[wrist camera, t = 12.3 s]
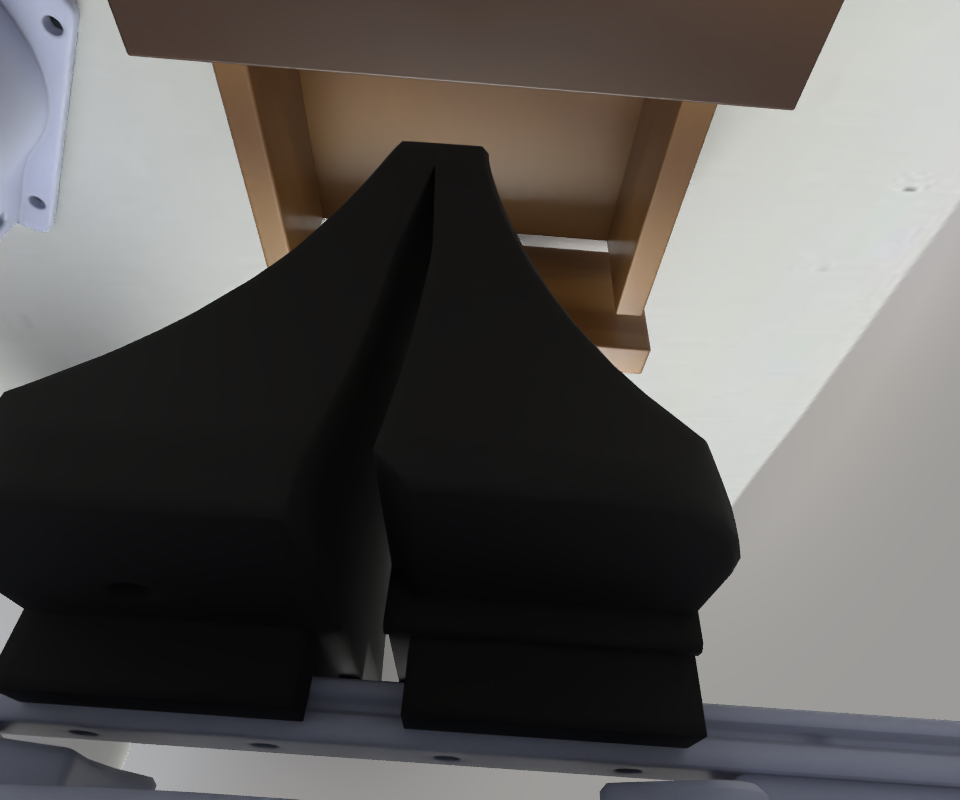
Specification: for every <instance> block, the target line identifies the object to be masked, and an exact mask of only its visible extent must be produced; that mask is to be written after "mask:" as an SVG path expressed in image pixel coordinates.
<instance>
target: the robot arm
mask: <svg viewBox="0 0 960 800" xmlns="http://www.w3.org/2000/svg"><path fill="white" fill-rule="evenodd" d="M49 16H52V17H54V18H55V19H57V20H58V21H59V22H60V24H61V25H62V28H63V30H61V29H59V28H57V27H56V26H55V25H54V24H53V23H52V21H51V20H50V17H49ZM79 18H80V13H79V8H78V5H77V3H76V1H75V0H0V241H1V240H2V239H3V238H4V237H5V235H6V234H7V233H8V232H9V231H10V230H11V228H12V227H13V226H14V225H15V224H16V223H19V224H21V225H24V226H26V227H28V228H31V229H33V230H36V231H39V232H47V231H49V230H50V229H51V228H52V227H53V225H54V223H55V217H56V208H57V200H58V192H59V183H60V175H61V167H62V159H63V150H64V142H65V134H66V125H67V117H68V109H69V101H70V92H71V84H72V76H73V67H74V59H75V51H76V43H77V34H78V26H79ZM37 197H38V198H40V199H41V200H42V201H43V202H42V201H40V200H39V199H38V198H37ZM739 559H740V547H739V538H738V533H737V528H736V523H735V519H734V515H733V511H732V507H731V504H730V501H729V498H728V496H727V493H726V490H725V488H724V485H723V482H722V479H721V477H720V474H719V472H718V469H717V466H716V464H715V461H714V459H713V456H712V454H711V451H710V449H709V446H708V444H707V442H706V441H705V440H704V439H703V438H702V437H700V436H699V435H698V434H696V433H695V432H694V431H693V430H691V429H690V428H689V427H687V426H686V425H685V424H684V423H682V422H681V421H680V420H678V419H677V418H676V417H675V416H673V415H672V414H671V413H669V412H668V411H667V410H666V409H664V408H663V407H662V406H660V405H659V404H658V403H657V402H655V401H654V400H653V399H651V398H650V397H649V396H648V395H646V394H645V393H644V392H643V391H642V390H640V389H639V388H638V387H637V386H636V385H635V384H634V383H633V382H632V381H630V380H629V379H628V378H627V377H626V376H625V375H624V374H623V373H622V372H621V371H620V370H618V369H617V368H616V367H615V366H614V365H613V364H612V363H611V362H610V361H609V360H608V358H607V357H606V356H605V355H604V354H603V353H602V352H601V351H600V350H599V349H598V348H597V347H596V346H595V345H594V344H593V342H592V341H591V340H590V339H589V338H588V337H587V336H586V335H585V334H584V333H583V332H582V331H581V330H580V329H579V327H578V326H577V325H576V324H575V322H574V321H573V320H572V319H571V317H570V316H569V315H568V314H567V312H566V311H565V310H564V309H563V307H562V306H561V305H560V303H559V302H558V301H557V299H556V298H555V297H554V295H553V294H552V292H551V291H550V290H549V288H548V287H547V285H546V284H545V282H544V281H543V279H542V278H541V276H540V275H539V273H538V272H537V270H536V268H535V267H534V265H533V263H532V262H531V260H530V258H529V257H528V255H527V253H526V251H525V249H524V248H523V246H522V244H521V242H520V240H519V238H518V236H517V235H516V233H515V231H514V229H513V226H512V224H511V222H510V220H509V218H508V215H507V213H506V211H505V209H504V206H503V204H502V202H501V199H500V197H499V194H498V191H497V188H496V185H495V182H494V179H493V176H492V172H491V168H490V162H489V154H488V152H487V151H486V150H485V149H484V148H483V146H472V145H457V144H443V143H429V142H414V141H402V142H401V143H400V144H399V145H397V146H396V147H395V149H394V150H393V151H392V152H391V153H390V154H389V155H388V156H387V158H386V159H385V160H384V161H383V162H382V163H381V164H380V166H379V167H378V168H377V169H376V170H375V171H374V172H373V173H372V175H371V176H370V177H369V178H368V179H367V180H366V181H365V182H364V183H363V184H362V185H361V187H360V188H359V189H358V190H357V191H356V192H355V193H354V194H353V195H352V196H351V197H350V198H349V199H348V200H347V201H346V202H345V203H344V204H343V205H342V206H341V207H340V208H339V209H338V210H337V211H336V212H335V213H334V214H333V215H332V216H331V217H330V218H329V219H327V220H326V221H325V222H324V223H323V224H322V225H321V226H320V227H319V228H317V229H316V230H315V231H314V232H313V233H312V234H311V235H310V236H308V237H307V238H306V239H305V240H304V241H303V242H302V243H300V244H299V245H298V246H297V247H295V248H294V249H293V250H292V251H290V252H289V253H288V254H286V255H285V256H284V257H282V258H281V259H279V260H278V261H277V262H275V263H274V264H272V265H271V266H270V267H268V268H267V269H265V270H264V271H262V272H261V273H260V274H258V275H257V276H255V277H254V278H252V279H250V280H249V281H247V282H246V283H244V284H242V285H241V286H239V287H237V288H235V289H234V290H232V291H230V292H229V293H227V294H225V295H223V296H222V297H220V298H218V299H217V300H215V301H213V302H212V303H210V304H208V305H206V306H205V307H203V308H201V309H200V310H198V311H196V312H194V313H192V314H190V315H189V316H187V317H185V318H183V319H181V320H179V321H177V322H175V323H173V324H171V325H169V326H167V327H165V328H163V329H161V330H159V331H156V332H154V333H152V334H150V335H148V336H145V337H143V338H141V339H139V340H137V341H134V342H132V343H130V344H128V345H126V346H123V347H121V348H119V349H116V350H114V351H112V352H109V353H107V354H105V355H102V356H100V357H97V358H95V359H92V360H89V361H87V362H84V363H81V364H79V365H76V366H73V367H71V368H68V369H66V370H63V371H60V372H58V373H55V374H52V375H50V376H47V377H44V378H42V379H39V380H37V381H34V382H31V383H29V384H26V385H23V386H20V387H17V388H14V389H11V390H8V391H6V392H4V393H3V394H2V396H1V397H0V593H1V594H3V595H4V596H6V597H7V598H9V599H10V600H12V601H13V602H15V603H16V604H18V605H19V606H21V607H23V608H24V610H23V612H22V614H21V616H20V618H19V620H18V622H17V624H16V626H15V627H14V629H13V632H12V634H11V635H10V637H9V639H8V641H7V643H6V645H5V647H4V649H3V651H2V653H1V654H0V800H295V799H281V798H266V797H252V796H238V795H224V794H210V793H195V792H176V791H158V790H155V788H156V783H155V781H154V779H153V778H151V777H147V776H144V775H139V774H136V773H132V772H128V771H124V770H120V769H116V768H113V767H110V766H107V765H104V764H102V763H99V762H96V761H93V760H90V759H88V758H86V757H84V756H83V755H81V754H80V753H78V752H76V751H75V750H73V749H71V748H67V747H60V746H54V745H47V744H40V743H33V742H26V741H20V740H13V739H6V738H3V737H2V735H1V734H13V735H27V736H41V737H56V738H70V739H85V740H99V741H113V742H128V743H142V744H156V745H172V746H186V747H200V748H214V749H228V750H243V751H257V752H272V753H286V754H300V755H314V756H329V757H343V758H358V759H372V760H386V761H401V762H415V763H430V764H445V765H458V766H473V767H487V768H501V769H502V768H503V769H516V770H531V771H545V772H559V773H560V772H561V773H573V774H588V775H602V776H603V775H604V776H616V777H631V778H646V779H661V780H674V781H654V782H624V783H623V782H622V783H607V784H606V785H605V786H604V787H603V788H602V789H601V791H600V800H960V721H949V720H935V719H921V718H905V717H892V716H877V715H863V714H848V713H834V712H820V711H805V710H791V709H776V708H762V707H747V706H734V705H719V704H703V703H702V698H701V691H700V685H699V678H698V672H697V666H696V659H695V656H698V655H700V654H701V653H702V650H703V639H702V633H701V627H700V621H699V615H698V610H699V609H700V608H701V607H702V606H703V605H704V603H705V602H706V601H707V600H708V599H709V598H710V597H711V596H712V594H713V593H714V592H715V591H716V590H717V589H718V588H719V587H720V586H721V585H722V583H723V582H724V581H725V580H726V579H727V578H728V577H729V576H730V575H731V573H732V572H733V570H734V568H735V566H736V565H737V563H738V561H739ZM386 634H389V638H390V643H391V647H392V651H393V655H394V660H395V665H396V669H397V673H398V678H399V682H389V681H381V679H382V667H383V656H384V646H385V636H386Z"/></svg>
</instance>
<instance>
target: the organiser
mask: <svg viewBox="0 0 960 800" xmlns="http://www.w3.org/2000/svg"><path fill="white" fill-rule="evenodd" d="M108 2H109V5H110V8H111V10H112V13H113V16H114V18H115V21H116V24H117V27H118V29H119V32H120V35H121V37H122V40H123V43H124V46H125V48H126V51H127V53H128V55H130V56H140V57H152V58H165V59H177V60H189V61H201V62H213V63H225V64H237V65H249V66H261V67H274V68H286V69H298V70H310V71H322V72H334V73H346V74H358V75H371V76H383V77H395V78H407V79H419V80H431V81H443V82H455V83H467V84H480V85H492V86H504V87H516V88H528V89H540V90H552V91H564V92H577V93H589V94H601V95H613V96H625V97H637V98H649V99H661V100H673V101H686V102H698V103H710V104H722V105H734V106H746V107H758V108H770V109H783V110H794V109H795V107H796V104H797V102H798V100H799V98H800V96H801V93H802V91H803V89H804V87H805V85H806V83H807V80H808V78H809V76H810V74H811V72H812V69H813V67H814V65H815V63H816V61H817V59H818V56H819V54H820V52H821V50H822V48H823V45H824V43H825V41H826V39H827V37H828V35H829V32H830V30H831V28H832V26H833V24H834V22H835V19H836V17H837V15H838V13H839V11H840V8H841V6H842V4H843V2H844V0H108Z"/></svg>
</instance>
